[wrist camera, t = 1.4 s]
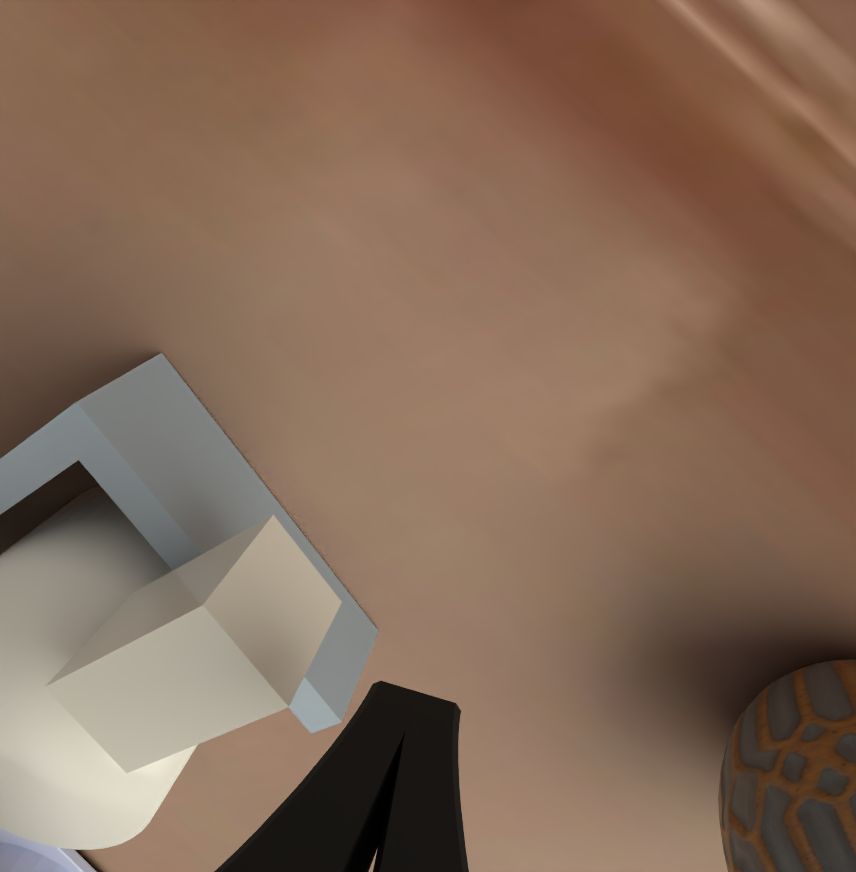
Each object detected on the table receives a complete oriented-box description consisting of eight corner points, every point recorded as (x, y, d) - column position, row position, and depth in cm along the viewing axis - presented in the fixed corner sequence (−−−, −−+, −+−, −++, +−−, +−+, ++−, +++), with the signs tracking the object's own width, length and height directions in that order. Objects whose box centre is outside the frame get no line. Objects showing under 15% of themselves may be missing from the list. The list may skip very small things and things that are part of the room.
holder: (136, 737, 25) (72, 825, 22) (-66, 520, 22) (-169, 585, 19) (378, 630, 21) (341, 721, 18) (161, 352, 18) (75, 401, 15)
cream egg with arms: (47, 752, 26) (-123, 954, 20) (-93, 609, 25) (-327, 781, 18) (438, 574, 19) (364, 796, 13) (280, 360, 18) (112, 498, 12)
